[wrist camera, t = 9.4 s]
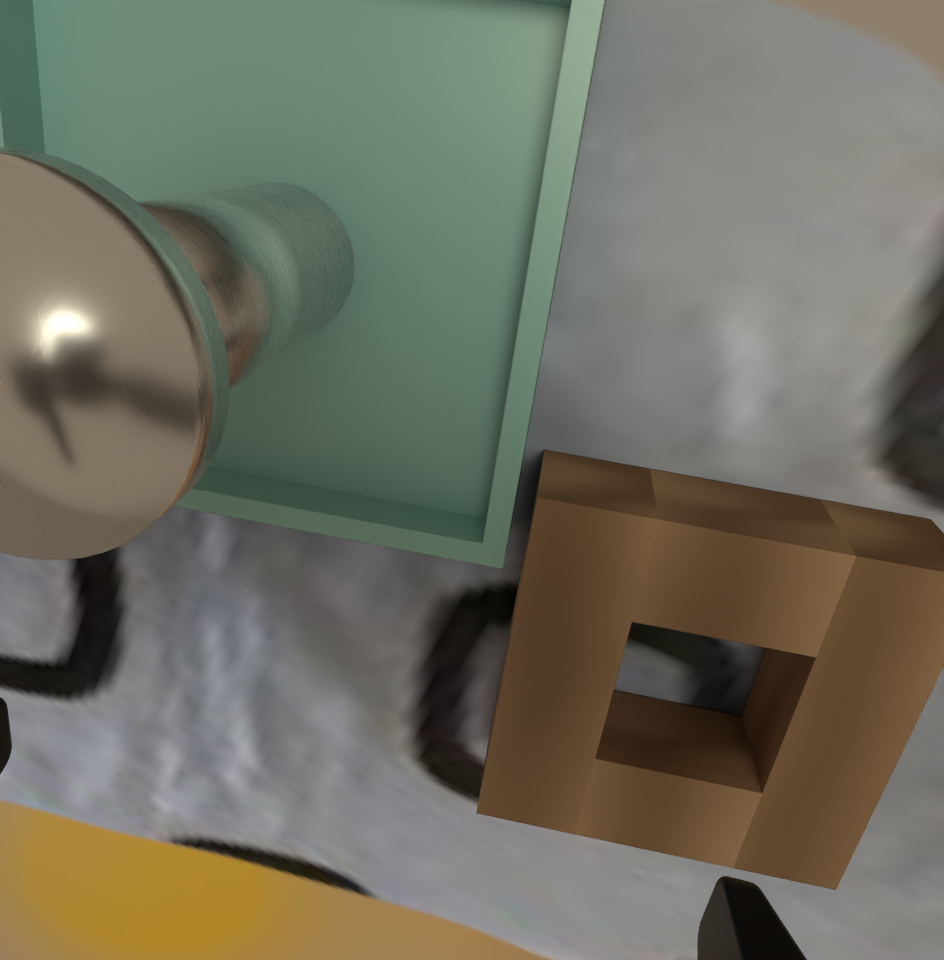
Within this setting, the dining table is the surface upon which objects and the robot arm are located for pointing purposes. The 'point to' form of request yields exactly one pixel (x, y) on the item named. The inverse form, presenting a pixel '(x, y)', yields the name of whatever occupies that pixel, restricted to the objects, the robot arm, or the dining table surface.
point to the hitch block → (725, 615)
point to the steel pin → (138, 338)
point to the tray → (349, 225)
